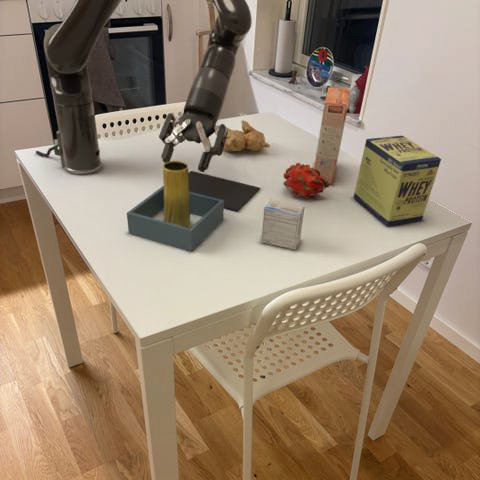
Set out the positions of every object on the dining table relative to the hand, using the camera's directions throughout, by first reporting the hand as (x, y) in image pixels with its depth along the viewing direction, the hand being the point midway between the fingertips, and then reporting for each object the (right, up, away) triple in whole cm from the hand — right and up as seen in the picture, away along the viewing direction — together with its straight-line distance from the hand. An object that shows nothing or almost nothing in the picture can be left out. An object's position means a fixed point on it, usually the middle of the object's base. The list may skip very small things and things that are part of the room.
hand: (182, 166), depth 109 cm
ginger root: (+13, +18, +43) cm, 48 cm away
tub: (-2, -12, +6) cm, 13 cm away
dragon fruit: (+29, -1, +22) cm, 36 cm away
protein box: (+49, -5, +18) cm, 52 cm away
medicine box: (+21, -16, +4) cm, 27 cm away
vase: (-2, -12, +6) cm, 14 cm away
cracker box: (+36, +8, +33) cm, 49 cm away
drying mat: (+5, 0, +21) cm, 22 cm away
